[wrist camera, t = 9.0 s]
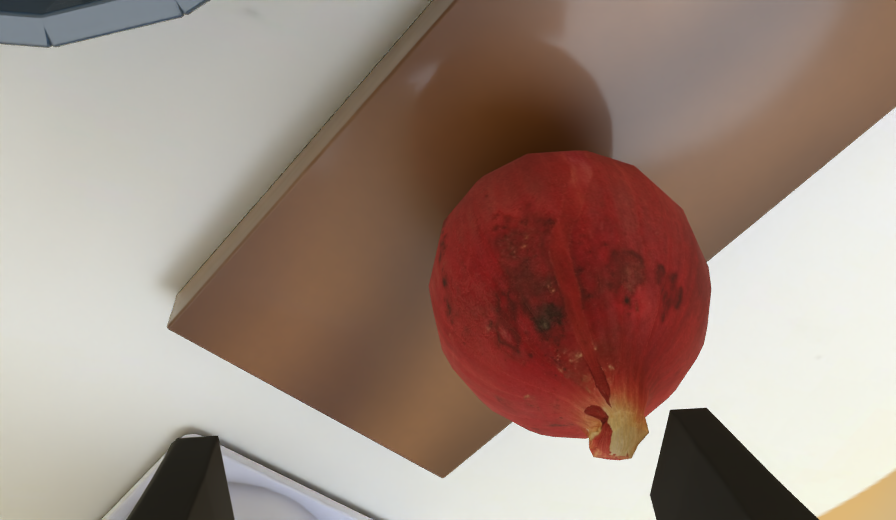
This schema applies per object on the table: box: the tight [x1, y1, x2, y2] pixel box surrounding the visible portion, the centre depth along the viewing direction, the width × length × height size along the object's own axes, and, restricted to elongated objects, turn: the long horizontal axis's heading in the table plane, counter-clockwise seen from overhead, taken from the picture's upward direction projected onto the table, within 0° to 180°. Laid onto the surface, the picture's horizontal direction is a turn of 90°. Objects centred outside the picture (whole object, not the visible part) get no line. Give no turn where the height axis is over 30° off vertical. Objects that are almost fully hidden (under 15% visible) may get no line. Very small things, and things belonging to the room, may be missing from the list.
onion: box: [429, 150, 711, 460], centre depth 17 cm, size 6×6×8 cm
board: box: [167, 0, 896, 478], centre depth 21 cm, size 10×18×2 cm, turn 138°
